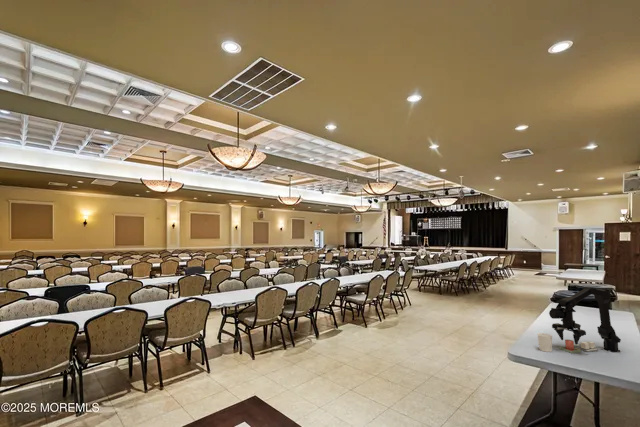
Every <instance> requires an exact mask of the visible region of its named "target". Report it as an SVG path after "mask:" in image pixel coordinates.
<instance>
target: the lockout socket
mask: <svg viewBox="0 0 640 427" xmlns="http://www.w3.org/2000/svg"><path fill="white" fill-rule="evenodd" d="M565 348H566V345H564V346H559V347H558V350H561V351H564V352H567V353H570V354H576V353H582V351H581V350H580V349H577V348H574V350H575V351H570V350H567V349H565Z"/></svg>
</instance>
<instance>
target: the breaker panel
mask: <svg viewBox="0 0 640 427" xmlns="http://www.w3.org/2000/svg"><path fill="white" fill-rule="evenodd" d="M574 348H577V349H580V350H581V352H584V353H591V352H593V353H594V352H598V351H599V349H597V348H592V349H591V348H589V349H584V348H581V343H580V344H579V343H578V344H577V345H575V344H574Z"/></svg>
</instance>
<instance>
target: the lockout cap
mask: <svg viewBox="0 0 640 427" xmlns="http://www.w3.org/2000/svg"><path fill="white" fill-rule="evenodd" d="M564 342H565V345H564V346H566V348H565V349H567V350H570V351H575V350H574V345H575V342H574V339H573V340H572V339H564Z"/></svg>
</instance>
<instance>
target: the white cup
mask: <svg viewBox="0 0 640 427" xmlns="http://www.w3.org/2000/svg"><path fill="white" fill-rule="evenodd" d="M537 341H538V346H539V350H540V351H542V352H547V353H551V352H552V351H553V335H551V334H548V333H541V332H540V333H539V332H538V333H537Z"/></svg>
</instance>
